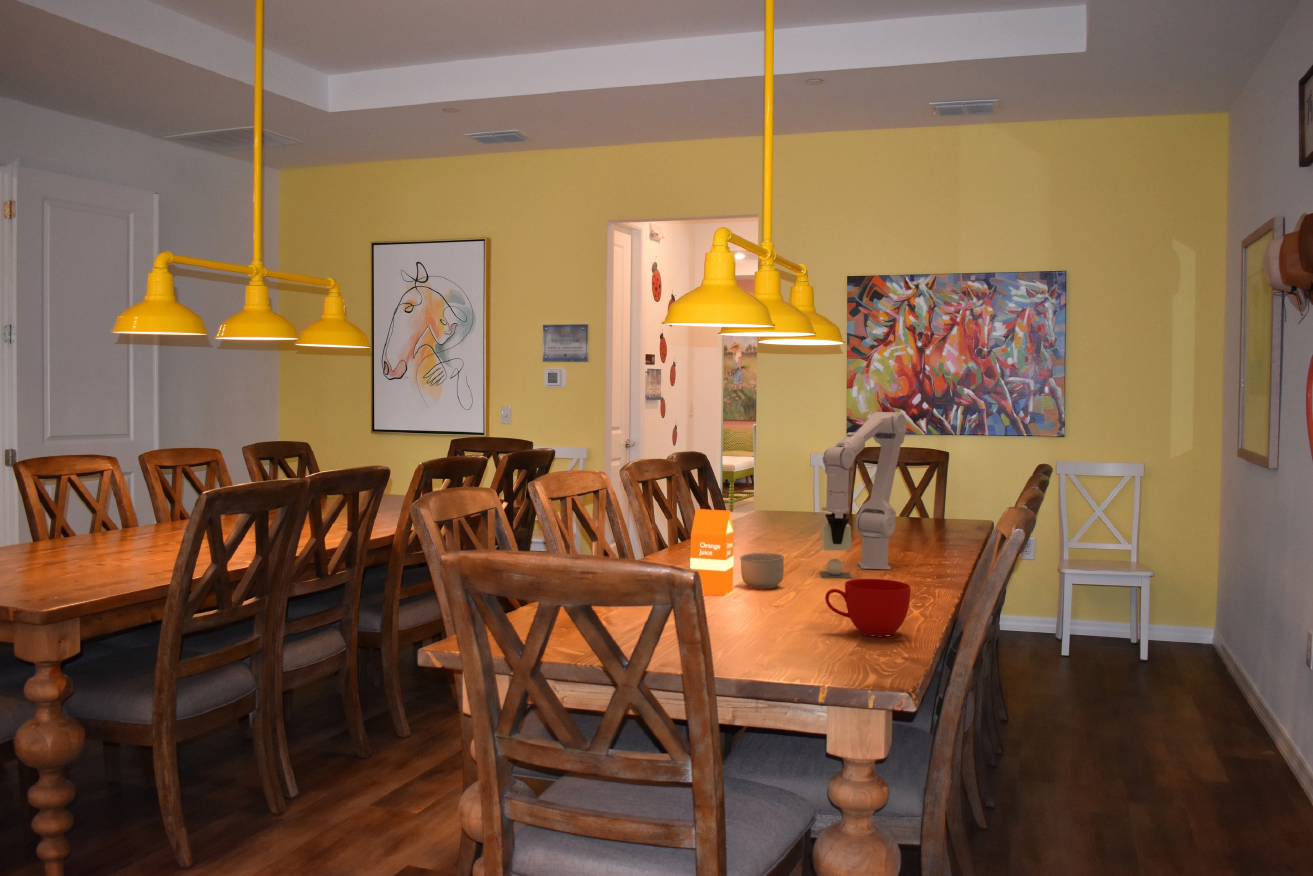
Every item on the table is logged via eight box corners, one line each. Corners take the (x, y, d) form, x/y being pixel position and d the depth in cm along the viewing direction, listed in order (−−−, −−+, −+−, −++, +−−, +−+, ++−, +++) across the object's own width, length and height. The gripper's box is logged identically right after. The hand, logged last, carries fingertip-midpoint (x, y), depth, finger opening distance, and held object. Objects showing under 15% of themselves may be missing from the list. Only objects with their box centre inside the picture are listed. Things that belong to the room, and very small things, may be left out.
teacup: (785, 591, 252) (786, 559, 252) (741, 590, 252) (741, 558, 252) (779, 581, 266) (780, 550, 265) (737, 580, 266) (738, 549, 266)
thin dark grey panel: (819, 572, 280) (819, 571, 280) (849, 573, 280) (849, 572, 280) (821, 577, 272) (821, 576, 272) (852, 578, 272) (852, 577, 272)
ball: (841, 557, 278) (843, 573, 278) (825, 558, 278) (826, 574, 278) (843, 559, 273) (844, 575, 273) (826, 561, 274) (828, 577, 274)
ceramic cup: (820, 625, 215) (821, 577, 215) (902, 627, 214) (903, 579, 214) (828, 640, 202) (830, 589, 202) (915, 641, 201) (917, 591, 201)
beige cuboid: (849, 546, 278) (848, 523, 278) (851, 550, 272) (850, 526, 272) (823, 547, 279) (822, 524, 279) (824, 550, 273) (823, 527, 273)
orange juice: (724, 596, 245) (726, 512, 244) (689, 593, 248) (690, 510, 247) (733, 590, 252) (734, 509, 252) (698, 587, 255) (699, 507, 254)
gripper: (820, 488, 283) (819, 538, 283) (824, 493, 268) (822, 545, 269) (846, 489, 282) (845, 538, 283) (851, 494, 268) (850, 546, 268)
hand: (836, 542), depth 276 cm, fingers closed on beige cuboid, 6 cm apart
